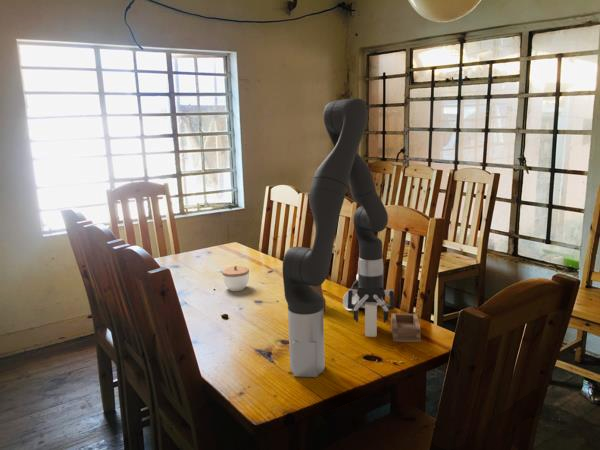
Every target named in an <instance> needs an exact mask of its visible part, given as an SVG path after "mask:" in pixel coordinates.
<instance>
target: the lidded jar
mask: <svg viewBox="0 0 600 450" xmlns="http://www.w3.org/2000/svg"><path fill="white" fill-rule="evenodd" d="M221 273H222V280H223V284H224V286H225V287H226V288H227V289H228V290H229V291H232V292H240V291H243V290H244V289H245V287H246V286H247V285H248V284H249V281H250V268H249V267H247V266H241V265H239V266H238V265H233V266H228V267H226V268H223V269H222V270H221Z"/></svg>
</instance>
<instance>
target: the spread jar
mask: <svg viewBox="0 0 600 450" xmlns="http://www.w3.org/2000/svg"><path fill="white" fill-rule="evenodd" d="M355 278H356V280H355V281H354V282H353V283H352V286H351V288H352V289H354V290H357V289H358V273H357V274H356V277H355ZM359 298H360V297H359V296H358V295H357V294H355V296H354V297H352V304H355V303H356V302H357V300H358V299H359ZM342 305H343V308H344V309H345V310H347V312H348V311H349V312H352V311H353V310H352V309H348V291H346V292H345V293H344V295H343V297H342ZM378 306H380V305H379V303H377V308H378ZM360 309H361V311H365V303H363V304H362V305H361V306H360V307H359V308H358V310H360Z"/></svg>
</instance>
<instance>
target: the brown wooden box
mask: <svg viewBox="0 0 600 450" xmlns="http://www.w3.org/2000/svg"><path fill="white" fill-rule="evenodd" d="M390 314H391V315H390V316H391V319H390V327H391V334H392V335H391V336H392V342H397V343H398V342H400V343H401V342H402V343H404V342H405V343H422V340H421V339H422V337H421V336H422V335H421V334H422V333H421V332H422V329H421V326H420V321H419V318H418V314H417V313H394V312H391V313H390Z"/></svg>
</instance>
